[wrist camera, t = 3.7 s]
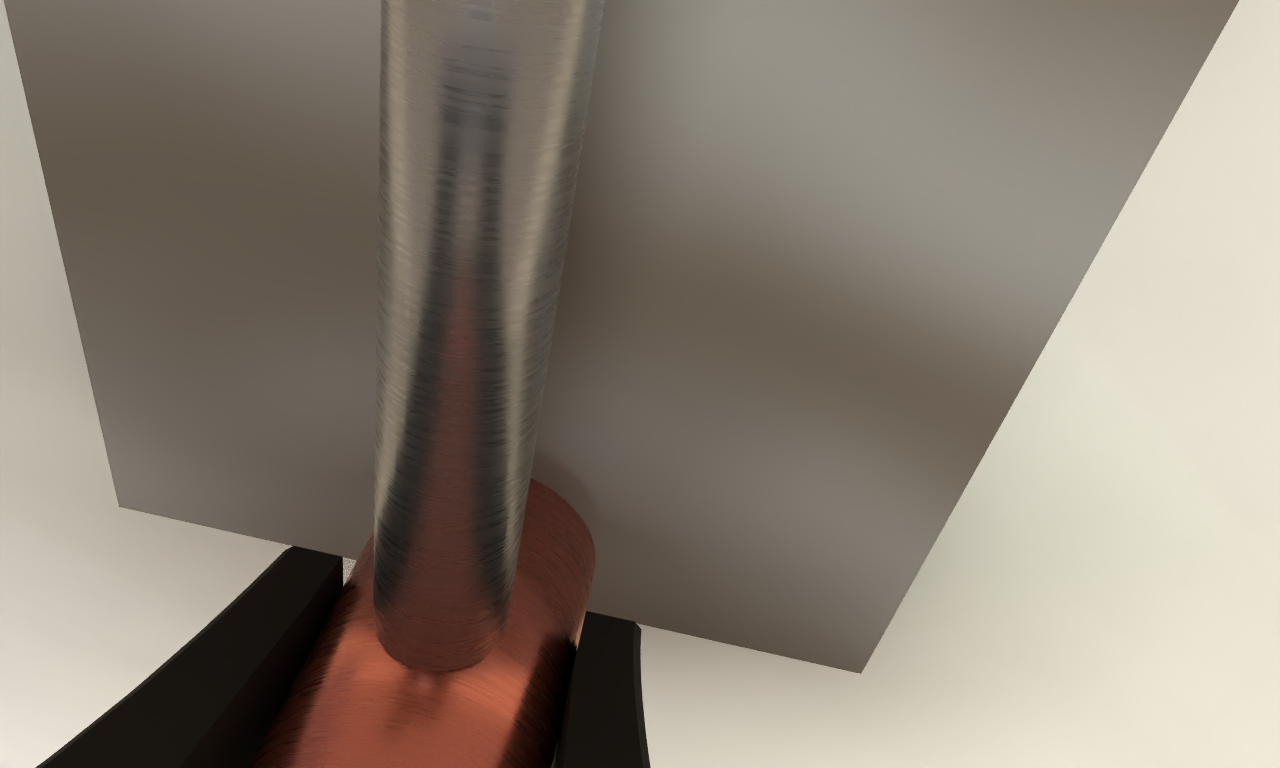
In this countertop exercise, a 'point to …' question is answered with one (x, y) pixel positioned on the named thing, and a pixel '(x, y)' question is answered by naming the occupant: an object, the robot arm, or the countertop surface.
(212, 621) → the robot arm
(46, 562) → the countertop surface
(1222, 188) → the countertop surface
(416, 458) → the copper head mallet
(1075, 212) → the eye block
